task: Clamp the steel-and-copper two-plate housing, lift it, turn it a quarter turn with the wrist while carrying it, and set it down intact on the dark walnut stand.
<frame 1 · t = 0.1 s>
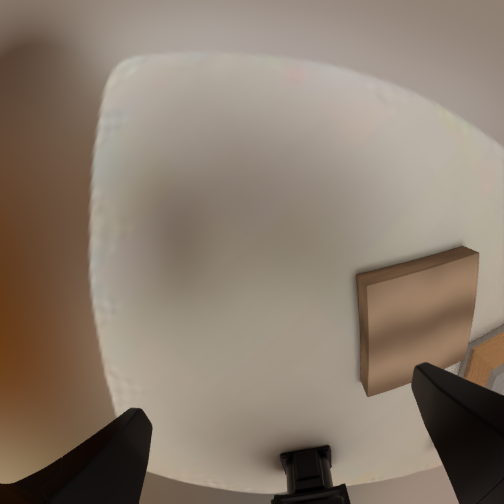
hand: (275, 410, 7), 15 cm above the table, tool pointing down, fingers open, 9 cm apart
housing: (482, 349, 23), on the table
walnut stand: (416, 318, 22), on the table
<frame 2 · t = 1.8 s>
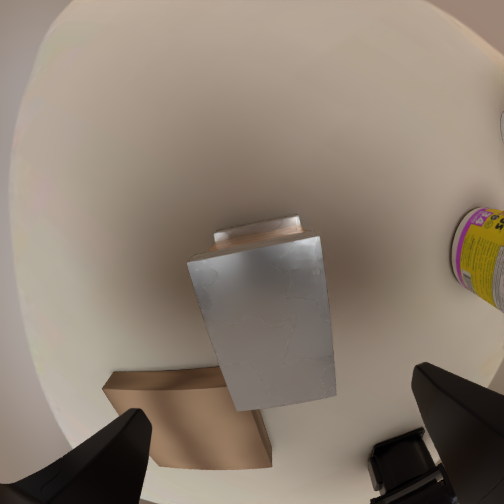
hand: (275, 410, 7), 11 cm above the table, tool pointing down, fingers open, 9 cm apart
supplement bottle: (473, 246, 17), on the table
housing: (269, 282, 18), on the table
walnut stand: (195, 418, 21), on the table
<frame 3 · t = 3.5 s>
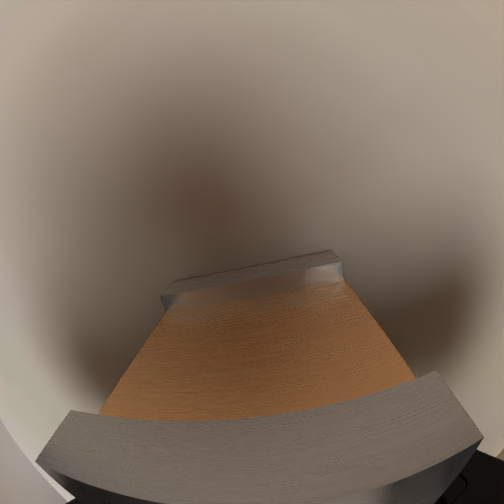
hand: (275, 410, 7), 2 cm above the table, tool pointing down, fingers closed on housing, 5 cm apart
housing: (274, 370, 9), on the table, touching gripper
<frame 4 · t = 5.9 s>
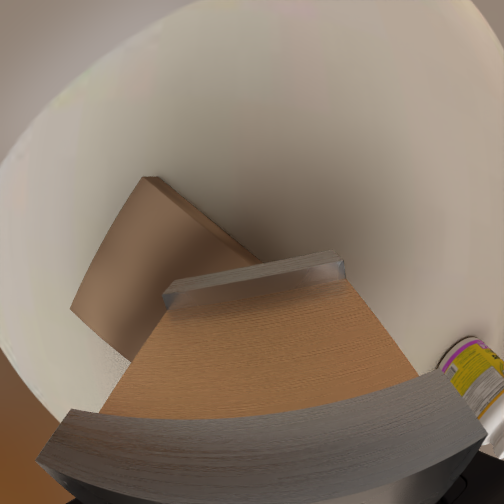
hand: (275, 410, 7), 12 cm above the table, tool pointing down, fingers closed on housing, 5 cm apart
supplement bottle: (457, 360, 21), on the table
housing: (274, 369, 9), point 10 cm above the table, touching gripper
walnut stand: (175, 295, 19), on the table
when the fingers open (6 cm above the table, at t = 8.3 s): housing drops 1 cm, resting on walnut stand.
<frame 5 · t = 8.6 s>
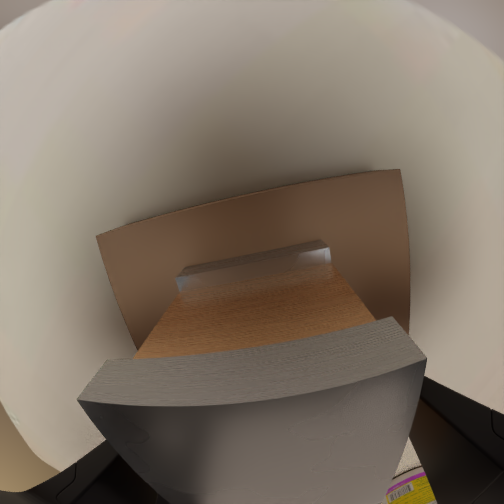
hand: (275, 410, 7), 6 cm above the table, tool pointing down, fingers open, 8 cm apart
supplement bottle: (405, 478, 18), on the table
housing: (272, 347, 11), point 2 cm above the table, touching walnut stand
walnut stand: (271, 318, 13), on the table
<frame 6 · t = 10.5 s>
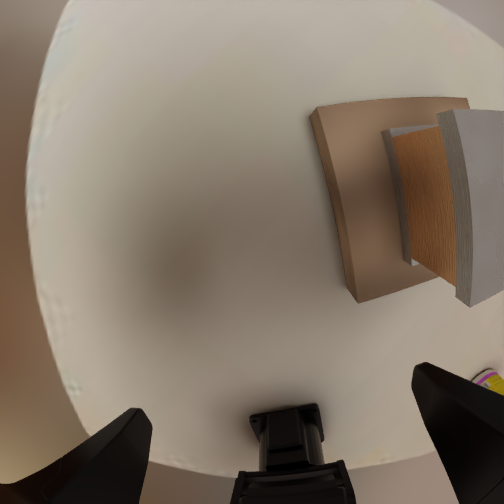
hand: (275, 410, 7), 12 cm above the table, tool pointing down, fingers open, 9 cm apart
supplement bottle: (475, 387, 22), on the table
housing: (427, 190, 14), point 2 cm above the table, touching walnut stand
walnut stand: (408, 188, 17), on the table
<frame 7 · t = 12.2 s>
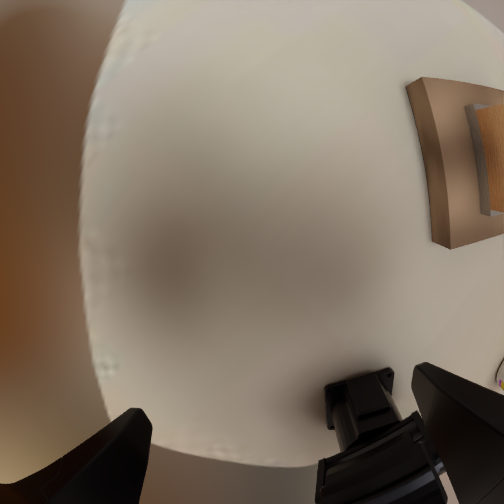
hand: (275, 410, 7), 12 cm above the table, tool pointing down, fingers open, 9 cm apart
housing: (493, 158, 13), point 2 cm above the table, touching walnut stand
walnut stand: (474, 159, 16), on the table
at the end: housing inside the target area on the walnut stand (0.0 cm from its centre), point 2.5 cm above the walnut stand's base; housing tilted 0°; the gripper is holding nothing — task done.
